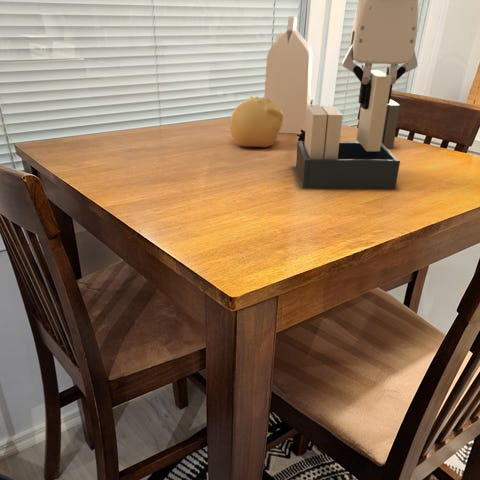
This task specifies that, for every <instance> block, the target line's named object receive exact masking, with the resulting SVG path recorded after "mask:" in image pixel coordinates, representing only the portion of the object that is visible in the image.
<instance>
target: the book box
mask: <svg viewBox="0 0 480 480" xmlns="http://www.w3.org/2000/svg"><path fill="white" fill-rule="evenodd" d="M296 144H297V146H296V158H295V159H296V160H295V168H296V173H297V175H298V178H299V182H300V185H301V187H302V189H305V190H306V189H307V190H309V189H310V190H312V189H314V190H319V189H320V190H396V187H397V181H398V174H399V170H400V165H401V160H400V159H399V158H398V157H397V156H396V155H395V154H394V153H393V152H392V151H391V150H390V148H387V147H386V146H385V145H384V144H383V143H382V142H381V148H380V151H366V150H365V149H364V148H363V146H362V145H361V144H360V143H359V142H358V141H340V142H339V151H338V159H309V158H308V156H307V153H306V151H305V149H304V144H305V142H302V141H297V143H296Z"/></svg>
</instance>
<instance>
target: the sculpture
mask: <svg viewBox="0 0 480 480" xmlns="http://www.w3.org/2000/svg"><path fill="white" fill-rule="evenodd" d="M282 119H283V113H282V111H281V110H280V109H279V108H278V107H276V105H274V104H273V103H272V102H271V100H270V99H268V98H265V97H264V96H263V97H259V96H250V97H249V98H248V99H246V100H243V101H241V102H240V103H238V104H237V105H236V106H235V108H234V109H233V111H232V113H231V115H230V122H229V129H230V134H231V137H232V139H233V141H234V143H235V144H236V145H238V146H241V147H248V148H249V147H251V148H269V147H271V146H272V145H273V144H274V143H275V141H276V140H277V139H278V135H279V134H280V133H279V130H280V129H281V126H282Z"/></svg>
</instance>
